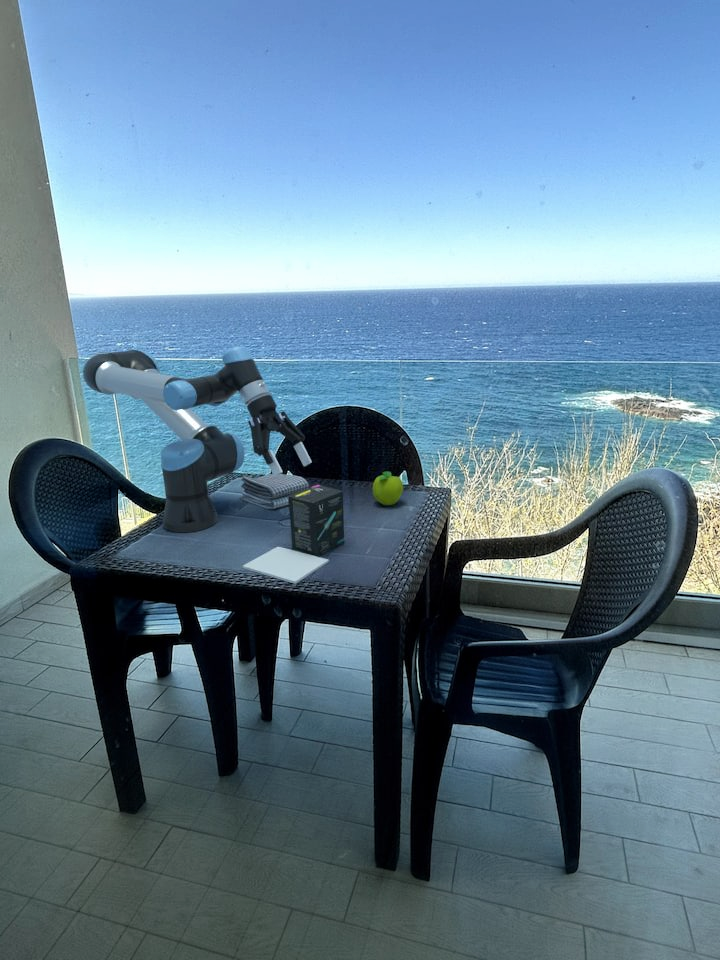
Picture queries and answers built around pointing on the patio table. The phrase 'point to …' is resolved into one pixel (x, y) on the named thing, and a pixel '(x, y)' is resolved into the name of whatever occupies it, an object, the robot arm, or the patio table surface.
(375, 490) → the fruit
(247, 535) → the patio table surface
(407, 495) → the patio table surface
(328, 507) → the tampon box
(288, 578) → the mat
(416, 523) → the patio table surface
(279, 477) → the towel
